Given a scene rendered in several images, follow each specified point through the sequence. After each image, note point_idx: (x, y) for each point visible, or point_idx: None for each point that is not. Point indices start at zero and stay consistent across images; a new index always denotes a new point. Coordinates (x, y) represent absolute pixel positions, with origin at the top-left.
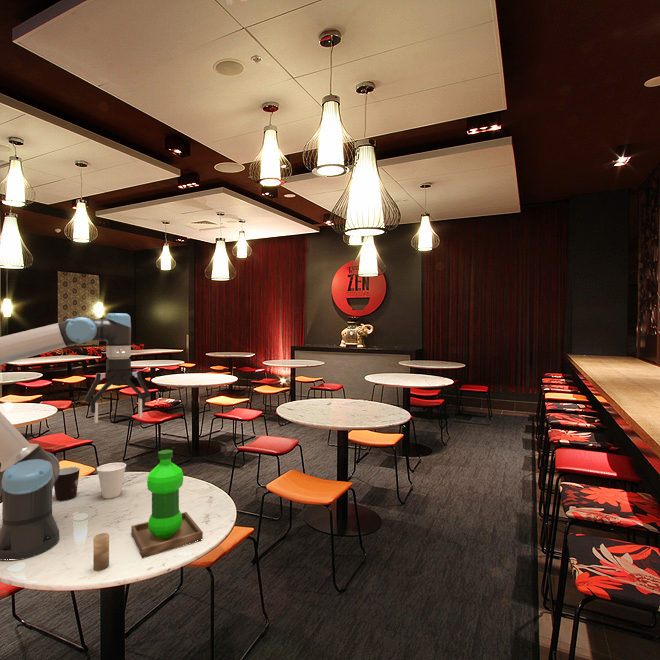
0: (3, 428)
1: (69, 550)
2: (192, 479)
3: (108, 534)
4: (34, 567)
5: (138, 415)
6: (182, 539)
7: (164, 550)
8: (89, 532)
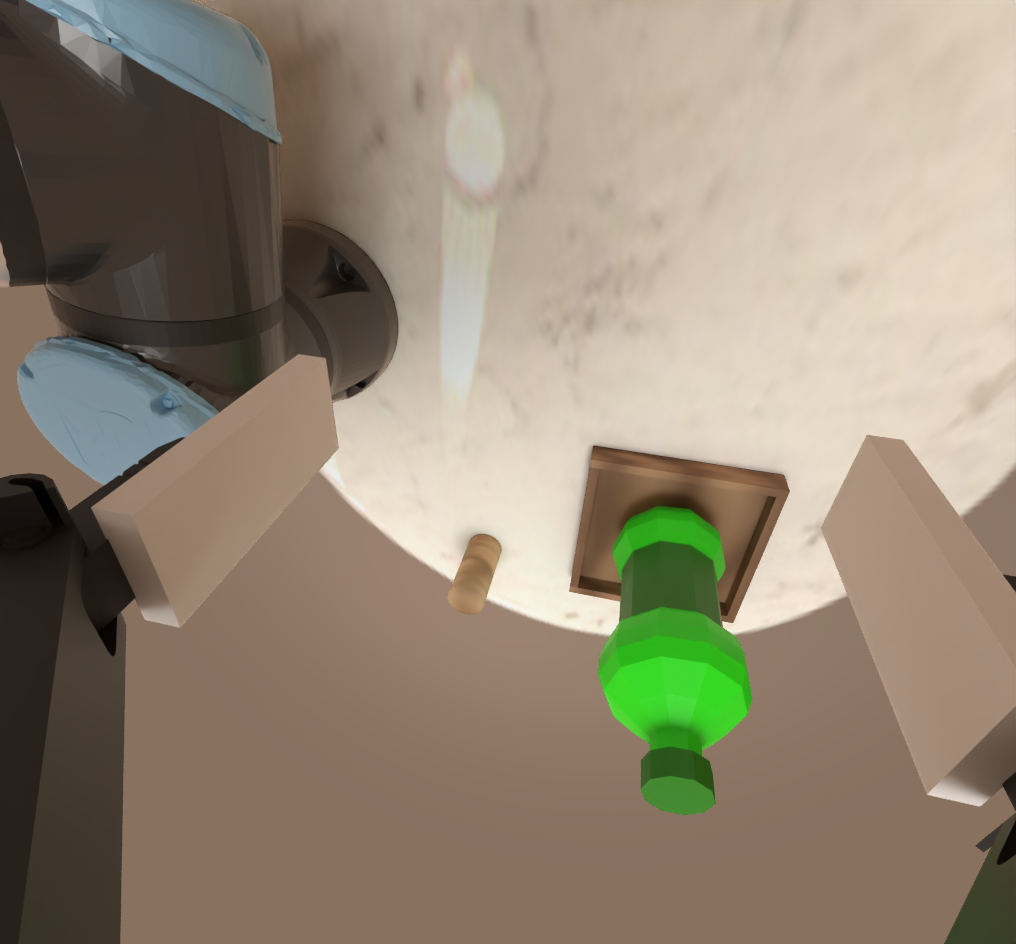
0: None
1: (425, 421)
2: None
3: (482, 603)
4: (351, 448)
5: (866, 460)
6: None
7: None
8: (485, 342)
